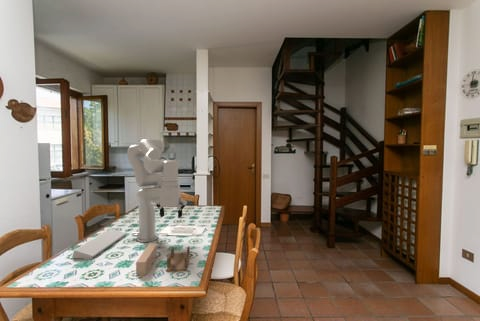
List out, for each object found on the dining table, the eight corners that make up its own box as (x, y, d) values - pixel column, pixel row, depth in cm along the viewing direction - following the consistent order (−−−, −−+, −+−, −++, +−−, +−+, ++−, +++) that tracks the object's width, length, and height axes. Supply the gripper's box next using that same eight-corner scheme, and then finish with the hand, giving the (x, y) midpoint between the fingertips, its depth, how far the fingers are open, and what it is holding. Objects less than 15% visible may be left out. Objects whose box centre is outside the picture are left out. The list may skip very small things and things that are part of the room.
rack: (166, 271, 114) (166, 260, 114) (172, 254, 132) (172, 245, 132) (186, 270, 115) (186, 260, 115) (190, 254, 133) (190, 245, 133)
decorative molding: (124, 240, 161) (109, 235, 161) (126, 233, 160) (111, 228, 161) (90, 264, 127) (71, 259, 127) (92, 255, 126) (74, 250, 127)
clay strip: (136, 275, 111) (136, 262, 111) (149, 254, 133) (149, 243, 133) (145, 275, 112) (145, 262, 111) (157, 254, 133) (157, 243, 133)
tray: (201, 237, 161) (201, 231, 160) (157, 238, 161) (157, 232, 161) (206, 227, 181) (206, 222, 181) (167, 228, 182) (167, 222, 181)
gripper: (151, 185, 128) (151, 218, 128) (183, 185, 125) (184, 219, 126) (158, 183, 135) (158, 214, 136) (189, 183, 133) (189, 215, 133)
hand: (171, 217), depth 131 cm, fingers open, 9 cm apart
